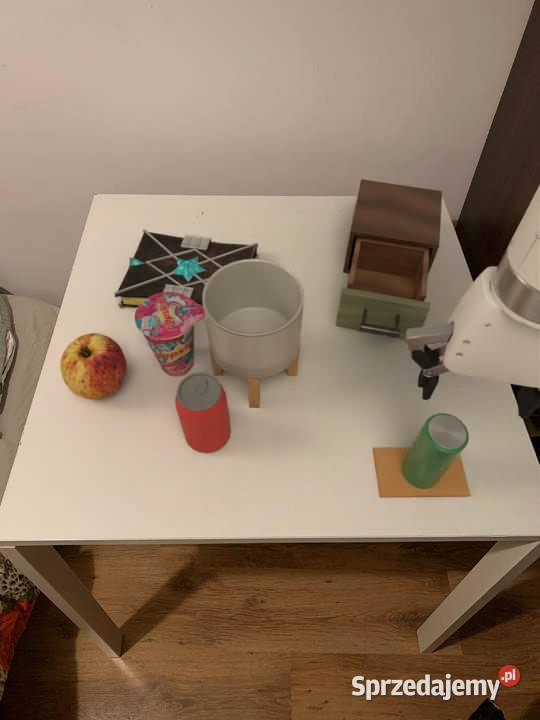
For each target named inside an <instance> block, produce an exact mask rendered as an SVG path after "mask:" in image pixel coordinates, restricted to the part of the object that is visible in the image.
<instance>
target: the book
mask: <svg viewBox="0 0 540 720" xmlns="http://www.w3.org/2000/svg"><path fill="white" fill-rule="evenodd" d="M142 232H143V233H142V236H141V239H140V241H139V243H138V246H137V248H136V250H135V252H134V255H133V257H129V265H128V268H127V270H126V273H125V275H124V276H123V279H122V281H121V282H120V285H119V287H118V289H117V291H114V292H113V295H114V297H115V298H118V297H119V298H121V301H120V302H119V303H117V304H118V307H119V309H123V308H125V307H127V308H129V307H130V308H138V306H139V305H140V304H141V303H142V302H143V301H144V300H145V299H146V298H148V297H150V296H152V295H154V294H158V293H162V292H176V293H180V294H183V295H185V296H187V297H188V298H190V299H191V300H193V301H194V302H196V303H197V304H198V305H200V306H201V307H202V308H203V301H202V294H203V289H204V287H205V284H206V282H207V281H208V279H209V278H210V277H211V276H212V275H213V273H215V272H216V271H217V270H218V269H220V268H222V267H223V266H225V265H227V264H230V263H232V262H235V261H240V260H245V259H258V258H259V253H258V247H259V243H258V242H254V243H252V244H245V243H243V244H242V243H228V242H225V243H224V242H217V241H212V237H210V236H202V235H196V234H195V235H194V234H184V237H182V236H174V235H170V234H169V235H168V234H163V233H157V232H151V231H148V230H147V229H146V228H143V229H142ZM203 309H204V308H203Z"/></svg>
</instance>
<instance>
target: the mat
mask: <svg viewBox="0 0 540 720" xmlns="http://www.w3.org/2000/svg"><path fill="white" fill-rule="evenodd" d="M410 448H411V446H409V447H407V446H406V447H404V446H401V447H399V446H398V447H392V446H391V447H389V446H388V447H372V452H373V459H374V466H375V467H374V468H375V472H376V479H377V485H378V493H379V494H378V495H379V498H380V499H381V498H382V499H384V498H458V497H462V498H463V497H466V498H467V497H470V496H471V492H470V488H469V484H468V481H467V480H468V479H467V477H466V472H465V468H464V464H463V460H462V457H461V454H460V455H459V456H458V457H457V458H456V460H455V461H454V462H453V463H452V465H451V466H450V467H449V468H448V470H447V471H446V472H445V473H444V475H443V476H442V477H441V478H440V480H439V481H438V482H437V483H436V485H434V486H433V487H431V488H428V489H421V488H417V487H414V486H412V485H411V484H410V483H408V482H407V480H406V479H405V478H404V476H403V474H402V469H401V466H402V462H403V460H404V458H405V456H406V455H407V453H408V451H409V450H410Z"/></svg>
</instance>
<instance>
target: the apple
mask: <svg viewBox="0 0 540 720" xmlns="http://www.w3.org/2000/svg"><path fill="white" fill-rule="evenodd" d="M127 366H128V365H127V359H126V355H125V353H124V351H123V349H122V347H121V346H120V345H119V344H118V342H117V341H116V340H114V339H113V338H111V337H109V336H108V335H105V334H102V333H98V332H89V333H86V334H83V335H80V336H78V337H76V338H75V339H74V340H72V341H71V342H70V343H69V344H68V345H67V346H66V348H65V349H64V350H63V352H62V356H61V358H60V366H59V367H60V373H61V376H62V379H63V381H64V384H65V385H66V386H67V388H68V389H69V391H70V392H72V393H73V394H75V395H76V396H79V397H81V398H83V399H88V400H101V399H103V398H108V397H110V396H111V395H113V394H114V393H115V392H117V391H118V390H119V389H120V387H121V385H122V383H123V381H124V380H125V377H126V374H127Z"/></svg>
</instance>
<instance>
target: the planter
mask: <svg viewBox="0 0 540 720" xmlns="http://www.w3.org/2000/svg"><path fill="white" fill-rule="evenodd" d="M202 301H203V308H204V314H205V317H204V320H205V327H206V333H207V341H208V346H209V352H210V353H209V354H210V360H211V366H212V372H213V376H222V375H223V370H224V371H225V372H227V373H229V374H230V375H232V376H235V377H238V378H241V379H247V393H248V408H252V409H255V408H256V409H257V408H258V409H259V408H260V403H261V402H260V400H261V399H260V395H261V393H260V391H261V390H260V389H261V388H260V386H261V385H260V383H261V382H260V381H261V380H260V379H266V378H271V377H273V376H275V375H278V374H280V373H281V372H283V371H284V370H287V372H288V376H289V377H293V376H294V377H297V376H298V367H299V358H300V348H301V345H300V344H301V335H302V327H303V326H302V324H303V316H304V315H303V314H304V305H305V291H304V288H303V284H302V283H301V281H300V279H299V278H298V277H297V275H296V274H295V273H294V272H293V271H291V270H290V269H289V268H288V267H286V266H285V265H282V264H280V263H278V262H276V261H272V260H269V259H261V258H256V259H245V260H240V261H235V262H232V263H230V264H227V265H225V266H223V267H222V268H220V269H218V270H217V271H216V272H215V273H213V275H212V276H211V277H210V278H209V279H208V281H207V282H206V284H205V287H204V289H203V294H202Z"/></svg>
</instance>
